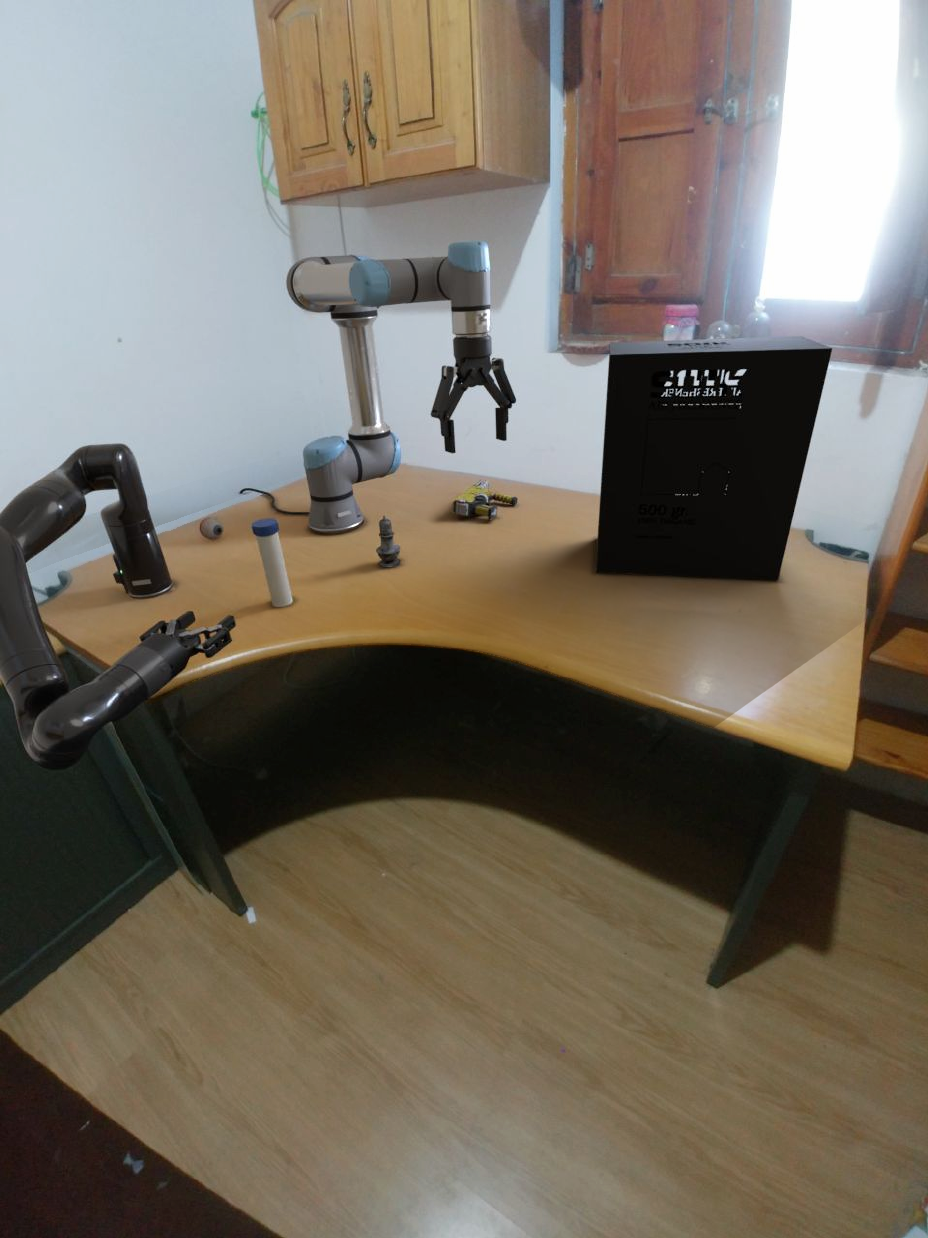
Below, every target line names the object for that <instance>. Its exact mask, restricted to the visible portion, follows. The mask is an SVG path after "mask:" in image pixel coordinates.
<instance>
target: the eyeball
mask: <svg viewBox="0 0 928 1238" xmlns="http://www.w3.org/2000/svg"><path fill="white" fill-rule="evenodd" d="M198 529H199V533H200V534H201V535H202V537H203V538H205V539H206V540H210V541H211V540H212V541H213V540H217V539H219V538H221V537H222V535H223V533H224V525H223V522H222V521H221V520H219V519H218V518H216V517H210V516H209V517H206V518H204V519H203V520H201V522H200V523H199V528H198Z"/></svg>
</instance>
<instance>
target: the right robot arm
mask: <svg viewBox="0 0 928 1238" xmlns="http://www.w3.org/2000/svg"><path fill="white" fill-rule="evenodd" d="M490 263H491V262H490V252H489V245H488V244H487V242H485V241H484V240H466V241H455V242H451V243H450V244H449V245H448V247H447V256H431V257H430V256H427V257H413V258H411V257H410V258H391V259H390V258H386V259H374V258H370V257H369V256H367V255H358V254H349V255H328V256H326V255H325V256H310V257H305V258H302V259H300V260H298V261H296V262H295V263H293V265H291V267H290V268H289V269H288V272H287V275H286V281H285V282H286V283H285V284H286V285H285V286H286V290H287V293H288V296H289V297H290V299H291V300H292V303H294V304H295V305H296V306H298V307H299V308H300V309H302V310H304V311H306V312H310V313H318V314H319V313H320V314H321V313H330V320H331V321H332V322H333V323H334V324H335V325H336V326H337V327H338V332H339V333H338V334H339V339H340V347H341V355H342V361H343V369H344V375H345V382H346V383H345V384H346V389H347V396H348V404H349V410H350V418H351V425H350V426H349V428H348V430H347V436H348V439H345V437H343V436H341V435H332V436H324V437H321V438H318V439H315V440H312V441H311V442H309V443H308V444H306V445H305V446H304V448H303V450H302V457H303V459H302V460H303V467H304V471H305V476H306V481H307V486H308V492H309V498H310V507H309V511H287V510H282V509H279V508H278V507H277V506H276V505H275V501H276V499H275V496H273V494H271V493H270V492H268V491H265V490H261V489H256V488H251V487H245V488H242V489H241V490H240V491H239V492H238V493H239V495H240V494H243V493H244V492H246V491H249V492H250V491H252V492H255V493H259V494H262V495H266V496H268V497H269V498H270V499H271V503H270V504H271V507H272V508H273V509H274V510H275V511H276V512H278V513H279V514H284V515H293V516H294V515H296V516H297V515H298V516H308V521H307V522H308V523H307V524H308V528H309V529H308V530H310V531H311V532H312V533H314V534H317V535H323V536H324V535H325V536H327V535H329V536H331V535H339V534H340V535H341V534H345V533H350V532H353V531H355V530H357V529H359V528H361V527H362V526H363V525H364V523H365V519H364V514H363V512H362V510H361V508H360V505H359V504H358V501H357V500H356V498H355V495H354V489H353V485H354V484H355V485H356V484H359V483H363V482H368V481H371V480H375V479H381V478H385V477H387V476H390V475H392V474H394V473H396V472H397V470H398V469H399V467H400V465H401V462H402V446H401V443H400V441H399V437H398V436H397V435H396V434H395V432H394V431H391V426H390V425H388V423H386V422H385V420H384V419H385V418H384V410H383V402H382V393H381V385H380V377H379V368H378V367H379V366H378V358H377V349H376V341H375V331H374V324H375V322H376V320H377V319H378V317H379V314H378V309H379V308H381V307H385V306H394V305H403V304H405V305H406V304H417V303H419V304H420V303H427V302H428V303H429V302H444V301H448V302H449V301H450V311H451V313H450V314H451V315H450V316H451V334H453V335H454V337H453V339H452V350H453V358H454V359H455V363H454V366H452V365H442V366H441V373H440V374H441V375H440V376H441V377H440V381H439V384H438V388H437V390H436V395H435V398H434V401H433V404H432V407H431V411H430V416H431V418H435V419H438V421H439V426H440V435H441V437H443V441H444V442H443V443H444V452H446V453H450V454H456V433H455V420H454V419H451V418H452V416H453V414H454V413H455V410H456V409H457V406H458V404H459V402H460V401H461V399H462V397H463V396H464V393H465V392H466V391H468V389H469V388H474V387H477V386H478V387H482V386H483V387H484V389H485V390H486V391H487V392H488V394H489V396H491V398H492V399H493V401H494V402H495V403H496V405H497V406H498V407H495V408H494V410H495V411H494V413H495V414H494V415H495V439H496V440H499V441H502V442H507V441H508V438H507V435H508V433H507V424H509V410H510V409H512V407H513V404H516V403H517V398H516V394H515V393H514V390H513V388H512V385H511V383H510V380H509V378H508V375H507V373H506V370H505V363H504V362H505V361H504V359H503V358H499V357H493V358H491V356H492V354H493V346H492V344H493V343H492V340H493V339H492V336H491V335H489V333H491V332H492V315H491V314H492V312H491V311H492V309H491V264H490ZM491 370H492V374H493V376H494V378H493V376H492V375H491ZM455 377H456V378H455ZM454 378H455V380H454ZM495 381H496V383H497V384H496V383H495Z"/></svg>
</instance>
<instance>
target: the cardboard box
mask: <svg viewBox="0 0 928 1238" xmlns="http://www.w3.org/2000/svg"><path fill="white" fill-rule="evenodd" d="M832 352H833V347H830V346H829V345H826V344H822V343H821V342H817V341H815V340H813V339H809V338H808V337H804V336H801V335H798V336H797V335H796V336H795V335H793V336H767V337H766V336H765V337H764V336H763V337H762V336H761V337H737V338H705V339H675V340H673V339H672V340H649V341H648V340H645V341H644V340H643V341H615V342H614V341H613V342H612V341H611V342H609V353H608V369H607V382H606V383H607V385H606V401H605V414H604V415H605V416H604V432H603V433H604V434H603V445H602V446H603V447H602V462H601V477H600V479H601V480H600V496H599V508H598V509H599V511H598V523H597V543H596V562H595V563H596V564H595V573H596V574H616V575H617V574H618V575H619V574H620V575H642V576H644V575H645V576H662V577H663V576H665V577H666V576H668V577H690V578H712V579H713V578H714V579H736V580H737V579H738V580H758V581H759V580H761V581H779V578H780V575H781V570H782V567H783V566H782V565H783V562H784V557H785V554H786V550H787V549H786V548H787V544H788V539H789V536H790V531H791V527H792V523H793V519H794V516H795V515H794V514H795V510H796V506H797V502H798V501H797V500H798V498H799V493H800V488H801V485H802V480H803V475H804V473H805V468H806V467H805V466H806V463H807V459H808V454H809V450H810V446H811V441H812V438H813V433H814V428H815V424H816V420H817V416H818V412H819V407H820V403H821V399H822V395H823V390H824V387H825V386H824V385H825V382H826V377H827V374H828V369H829V364H830V361H831V356H832ZM741 370H745V371H744V372H743V374H742V375H741V374H740V375H737V373H738V372H739V371H741ZM684 371H685V375H684V377H683V383H682V385H679V380H680V375H679V374H680V373H681V372H684ZM693 371H697V372H696V377H695V375H692V372H693ZM706 371H708V373H707V375H706ZM727 374H728V378H727V381H737V382H736V384H727V383H726V377H727ZM695 379H696V382H697V381H698V384H697V385H695ZM711 381H713V384H712V385H710V384H709V385H708V382H711ZM667 383H671V384H670V385H666V384H667Z"/></svg>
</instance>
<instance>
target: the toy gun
mask: <svg viewBox="0 0 928 1238" xmlns="http://www.w3.org/2000/svg"><path fill="white" fill-rule="evenodd" d="M491 501H495V502H499V503H503V504H506V505H507V504H509V505H510V506H511V505H512V506H516V505H517V504H518V497H517V496H510V495H507V494H503V493H498V492H495V493H494V494H492V492H491V491H490V482H489V481H488V480H485V481H484V479H480V480H479V481H477V482H476V483H474V484H472V485H471V486H470V487H469V488H468V489H466V490H465V491H464V492H463V493H462V494H461V495H459V496H458V497H457V498H456V499H454V501H453V502H452V512H453V514H454V515H457V517H461V518H464V517H473V516H477V515H478V516H479V515H480V516H485V517H487V518H488V520H490V521H491V520H493V519H494V518H496V517H497V516H498V505H497V504H492V505H491V503H490V502H491Z"/></svg>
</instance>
